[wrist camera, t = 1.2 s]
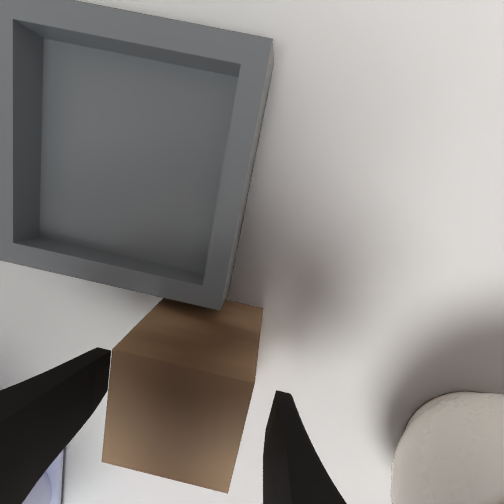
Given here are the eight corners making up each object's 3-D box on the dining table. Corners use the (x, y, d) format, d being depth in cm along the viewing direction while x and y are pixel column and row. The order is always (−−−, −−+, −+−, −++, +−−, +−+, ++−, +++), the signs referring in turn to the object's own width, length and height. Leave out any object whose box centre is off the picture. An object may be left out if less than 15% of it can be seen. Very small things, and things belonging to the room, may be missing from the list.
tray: (33, 247, 16) (-8, 258, 13) (37, 17, 13) (-13, -17, 11) (228, 292, 15) (220, 310, 13) (273, 64, 13) (272, 38, 10)
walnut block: (162, 365, 17) (101, 461, 11) (173, 287, 16) (112, 349, 10) (244, 385, 17) (228, 493, 11) (262, 308, 15) (254, 383, 10)
